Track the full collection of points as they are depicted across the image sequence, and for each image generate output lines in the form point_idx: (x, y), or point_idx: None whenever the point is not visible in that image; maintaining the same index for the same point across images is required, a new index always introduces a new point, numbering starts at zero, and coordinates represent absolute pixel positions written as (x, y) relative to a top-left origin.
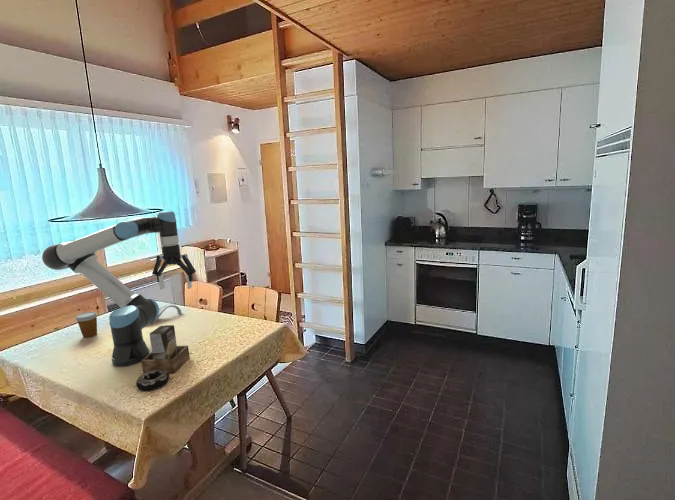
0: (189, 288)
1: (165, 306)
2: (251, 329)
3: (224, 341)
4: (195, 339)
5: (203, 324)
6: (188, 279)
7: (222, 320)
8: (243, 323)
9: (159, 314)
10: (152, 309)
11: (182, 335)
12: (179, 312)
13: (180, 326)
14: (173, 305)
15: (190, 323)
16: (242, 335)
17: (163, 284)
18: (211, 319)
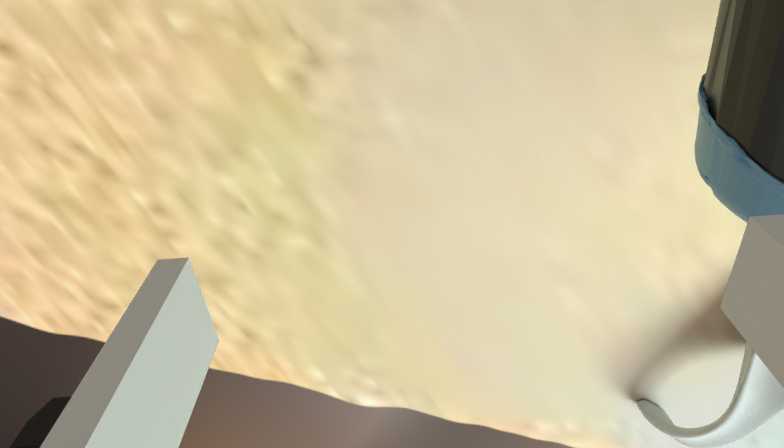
0: (157, 264)
1: (743, 423)
2: (103, 247)
3: (153, 82)
4: (373, 101)
5: (439, 294)
6: (61, 431)
7: (354, 340)
8: None
9: (750, 352)
10: (765, 85)
11: (495, 153)
12: (649, 406)
13: (570, 266)
14: (696, 435)
15: (526, 302)
16: (98, 171)
17: (773, 340)
18: (426, 349)
